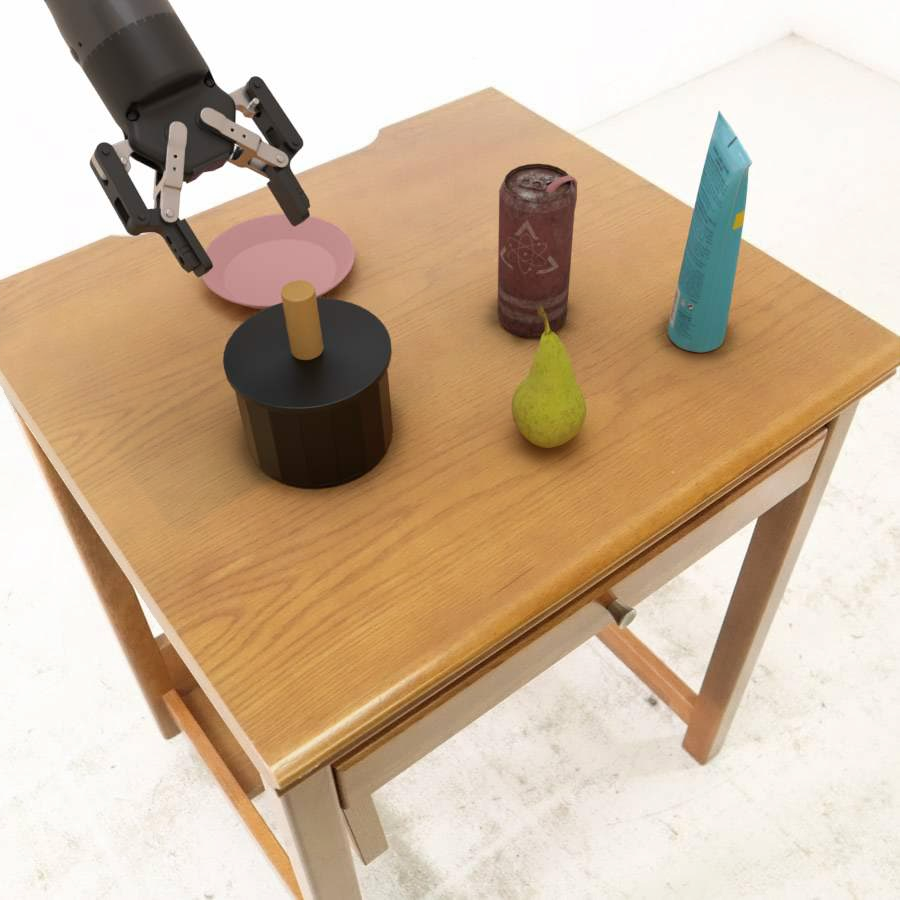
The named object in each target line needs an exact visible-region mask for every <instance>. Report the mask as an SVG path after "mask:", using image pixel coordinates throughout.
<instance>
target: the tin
mask: <svg viewBox="0 0 900 900" xmlns="http://www.w3.org/2000/svg"><path fill="white" fill-rule="evenodd" d="M390 392H391V391H390V383H389V371H388V369H387V371H386V373H385V375H384V376H383V377H382V379H381V380H380V381H379V382H378V384H377V385H376V386H375V387H374V388H372V389H371V390H370V391H369V392H367V393H366V394H365V395H363V396H362V397H360V398H358V399H357V400H355V401H353V402H351V403H349V404H346V405H344V406H341V407H338V408H335V409H331V410H328V411H323V412H317V413H309V414H288V413H279V412H274V411H269V410H266V409H263V408H260V407H258V406H256V405H253V404H251V403H250V402H248V401H246V400H245V399H243V398H242V397H241V396H240V395H238V394H237V393H236V392H235V391H234V394H235V397H236V402H237V405H238V410H239V413H240V419H241V423H242V427H243V431H244V435H245V436H244V437H245V440H246V444H247V449H248V452H249V454H250V455H251V458H252V460H253V462H254V463H255V465H256V466H257V467H258V469H259V470H261V472H262V473H264V475H266V477H269V478H270V479H272V480H274V481H275V482H277V483H280V484H282V485H285V486H289V487H291V488H297V489H304V490H320V489H330V488H335V487H339V486H340V487H341V486H343V485H346V484H349V483H351V482H354V481H356V480H358V479H360V478H362V477H363V476H365V475H366V474H368V473H369V472H371V471H372V470H373V469H374V468H375V467H377V466H378V464H380V462H381V461H382V460H383V459H384V457H385V456H386V455H387V453H388V450H390V446H391V443H392V439H393V434H394V433H393V432H394V428H393V427H394V425H393V417H392V407H391V406H392V404H391V393H390Z"/></svg>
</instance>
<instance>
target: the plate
mask: <svg viewBox="0 0 900 900" xmlns="http://www.w3.org/2000/svg"><path fill="white" fill-rule="evenodd" d="M204 250H205V252H206V253H207V255H208V256H209V258H210V260H211V261H212V264H213V268H212V269H211V270H210V271H209V272H208V273H206V274H204V275H202V276H201V279H202V281H203V282H204V284H205V285H206V287H207V288H208V289H209V290H210V291H211V292H212V293H214V294H215V295H217V296H218V297H219V298H221V299H223V300H226V301H228V302H230V303H234V304H236V305H240V306H243V307H246V308H251V309H254V310H259V311H261V310H263V309H266V308H268V307H270V306H273V305H276V304H279V303H282V297H281V290H282V288H283V286H284V285H286V284H287V283H289V282H292V281H296V280H304V281H308V282H310V283H311V284H313V286H314V287H315V292H316V298H322V296H324V295H326V294H327V293H329V292H330V291H332V290H333V289H334V288H336V287H337V286H338V285H339V284H340V283H342V282H343V281H344V280H345V278H347V276H348V275H349V274H350V272H351V271H352V268H353V266H354V263H355V260H356V259H355V258H356V249H355V245H354V243H353V240H352V239H351V237H350V236H349V234H347V232H346V231H345V230H344V229H342V228H341V227H340V226H338V225H337V224H335V223H333V222H331V221H330V220H326V219H324V218H321V217H318V216H315V215H310V216H309V217H308V218H307V219H306V220H305V221H304V222H303V223H301V224H299V225H297V226H293V225H291V223H290V222H289V220H288V219H287V217H286V215H285V214H284V213H276V214H267V215H263V216H262V215H261V216H257V217H253V218H251V219H247V220H244V221H242V222H239V223H237V224H235V225H233V226H231V227H229V228H227V229H226V230H224V231H222V232H221V233H220V234H218V235H217V236H216V237H214V238H213V240H212V241H211V242H210V243H209V244H208V245H207V247H205V248H204Z"/></svg>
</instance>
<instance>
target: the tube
mask: <svg viewBox="0 0 900 900" xmlns="http://www.w3.org/2000/svg"><path fill="white" fill-rule="evenodd" d="M752 164H753V160H752V159H751V157H750V155H749V154H748V151H746V149H745V147H744V145H743V144H742V143H741V141H740V139H739V137H738V135H737V134H736V132H735V131H734V130H733V127H732V126H731V124H729V122H728V120H727V119H726V118H725V116H724V115H723V113H722V112H721V110H718V113H717V116H716V119H715V123H714V126H713V130H712V133H711V137H710V141H709V144H708V148H707V151H706V156H705V161H704V164H703V168H702V172H701V176H700V181H699V185H698V190H697V194H696V199H695V203H694V207H693V210H692V211H693V212H692V216H691V221H690V225H689V230H688V234H687V239H686V243H685V247H684V251H683V257H682V262H681V266H680V270H679V275H678V280H677V284H676V288H675V294H674V298H673V302H672V307H671V313H670V318H669V321H668V327H667V334H668V338H669V339H670V341H671V342H672V343H673V344H674V345H675V346H677V347H678V348H680V349H682V350H684V351H687V352H694V353H708V352H712V351H714V350H717V349H718V348H719V347H721V345H723V343H724V341H725V337H726V333H727V327H728V321H729V316H730V309H731V308H730V307H731V303H732V297H733V292H734V285H735V279H736V273H737V268H738V267H737V266H738V261H739V255H740V248H741V241H742V235H743V230H744V229H743V228H744V223H745V222H744V221H745V215H746V214H745V213H746V208H747V207H746V205H747V197H748V188H749V187H748V186H749V169H750V167H751V166H752Z"/></svg>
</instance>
